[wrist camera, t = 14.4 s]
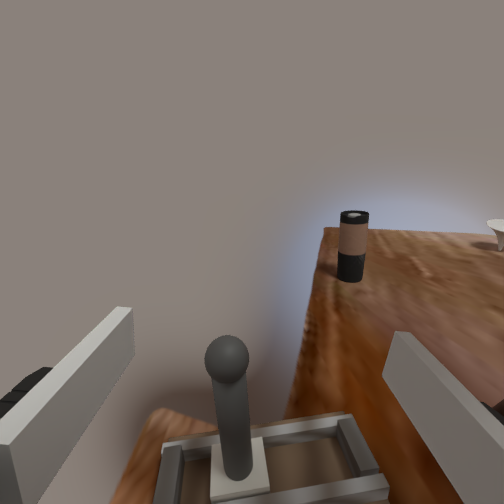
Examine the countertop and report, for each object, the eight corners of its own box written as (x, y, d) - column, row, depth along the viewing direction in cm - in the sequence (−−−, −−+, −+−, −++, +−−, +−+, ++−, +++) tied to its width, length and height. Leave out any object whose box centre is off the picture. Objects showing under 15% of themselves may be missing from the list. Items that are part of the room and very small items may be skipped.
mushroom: (529, 255, 87) (540, 220, 83) (494, 255, 88) (503, 221, 84) (503, 245, 96) (513, 214, 92) (472, 246, 98) (480, 215, 94)
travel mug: (353, 271, 83) (359, 209, 76) (368, 281, 75) (375, 214, 69) (331, 274, 81) (335, 211, 75) (344, 284, 74) (349, 216, 68)
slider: (262, 450, 31) (255, 319, 25) (270, 500, 27) (263, 356, 20) (213, 458, 31) (193, 327, 24) (212, 511, 26) (186, 365, 20)
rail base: (342, 418, 36) (344, 394, 35) (398, 533, 25) (404, 505, 24) (170, 446, 34) (165, 421, 33) (146, 585, 23) (135, 558, 21)
